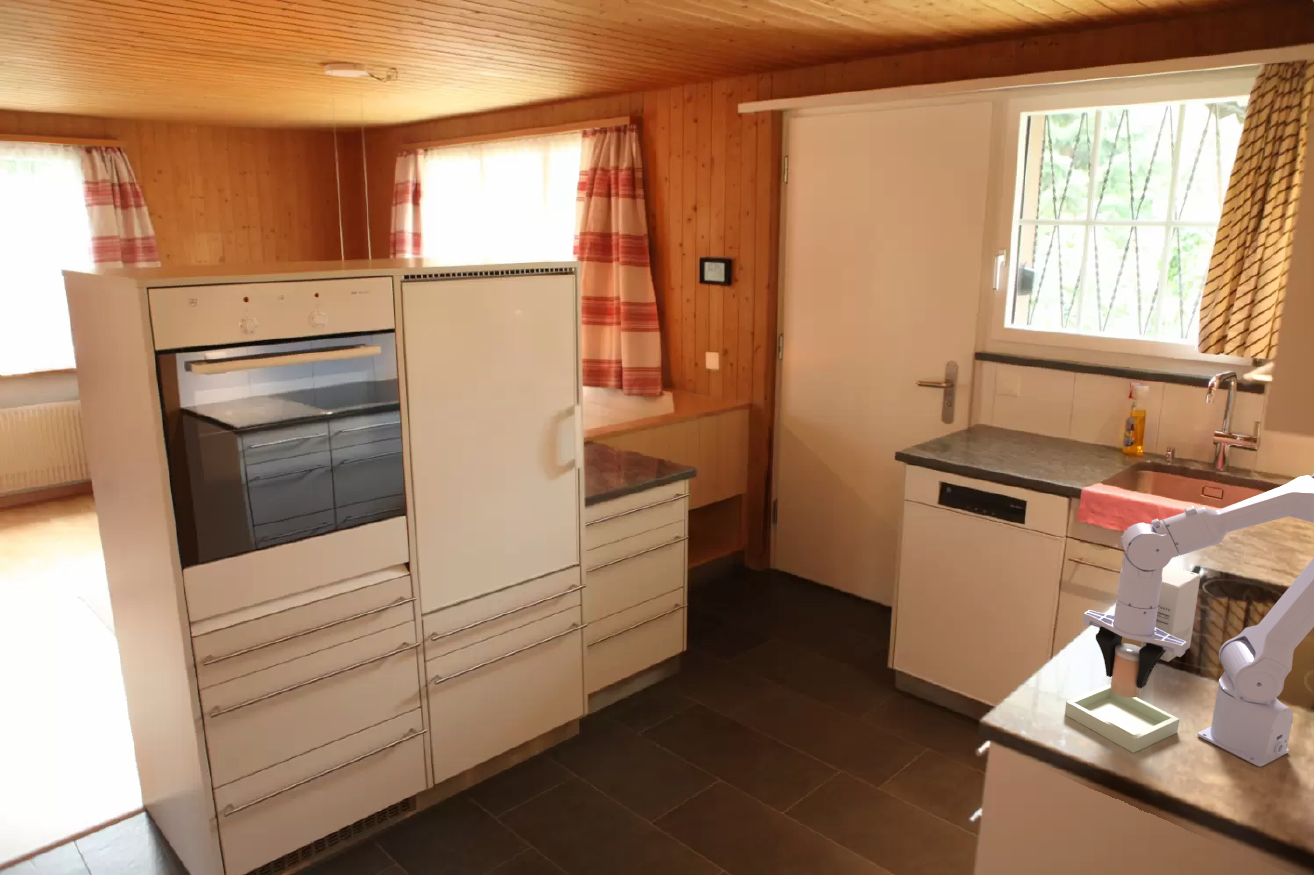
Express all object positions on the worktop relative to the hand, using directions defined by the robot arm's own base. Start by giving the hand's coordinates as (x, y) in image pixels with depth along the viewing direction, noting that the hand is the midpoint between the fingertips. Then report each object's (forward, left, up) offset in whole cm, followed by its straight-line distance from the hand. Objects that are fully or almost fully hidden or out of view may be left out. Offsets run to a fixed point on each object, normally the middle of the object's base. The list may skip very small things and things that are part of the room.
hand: (1126, 679), depth 141 cm
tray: (0, 0, -8) cm, 8 cm away
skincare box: (+12, -20, -8) cm, 25 cm away
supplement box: (+13, -29, -8) cm, 33 cm away
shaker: (0, 0, -2) cm, 2 cm away
